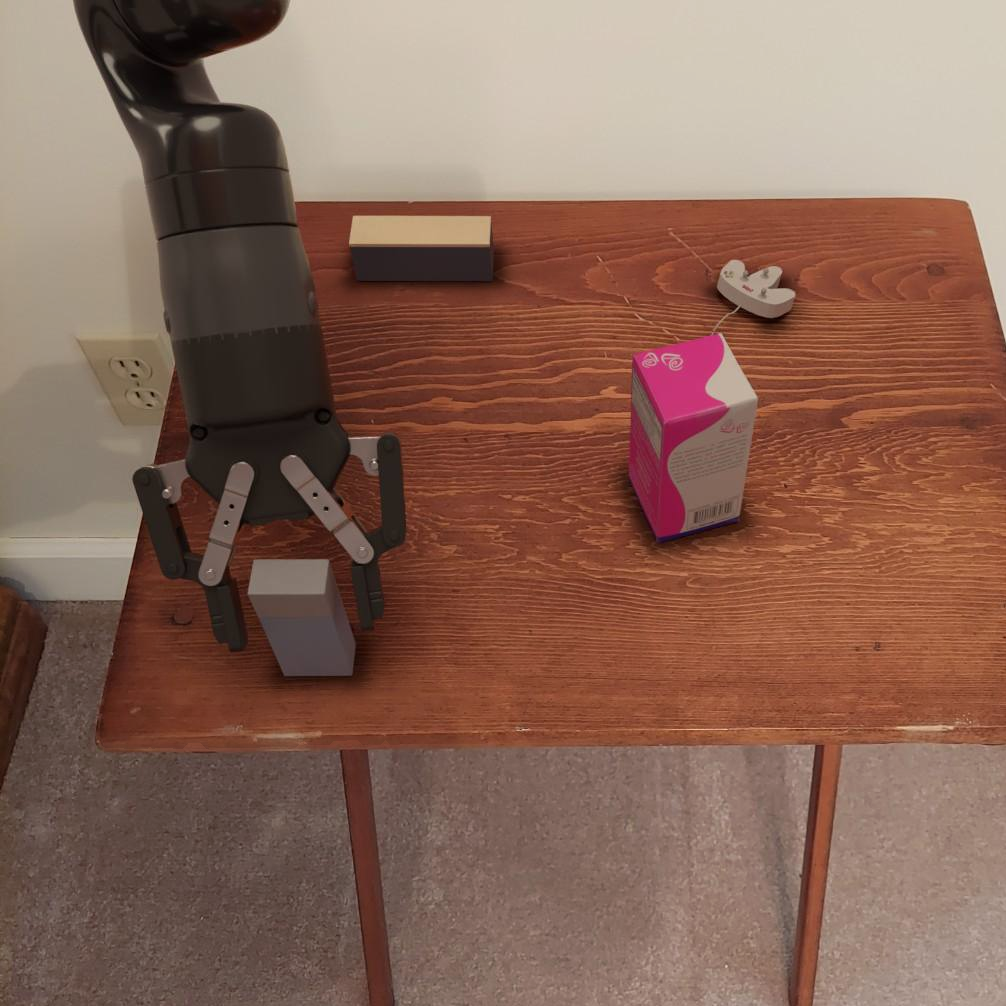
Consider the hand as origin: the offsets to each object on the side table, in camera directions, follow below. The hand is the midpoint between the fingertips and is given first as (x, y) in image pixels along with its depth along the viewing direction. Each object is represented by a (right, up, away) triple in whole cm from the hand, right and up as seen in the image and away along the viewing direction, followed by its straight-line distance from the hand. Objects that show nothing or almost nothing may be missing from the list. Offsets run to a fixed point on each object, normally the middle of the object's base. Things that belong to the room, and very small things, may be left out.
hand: (304, 637), depth 64 cm
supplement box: (+21, +9, +12) cm, 26 cm away
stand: (+3, +27, +23) cm, 36 cm away
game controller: (+25, +22, +21) cm, 39 cm away
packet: (0, -2, +5) cm, 6 cm away
